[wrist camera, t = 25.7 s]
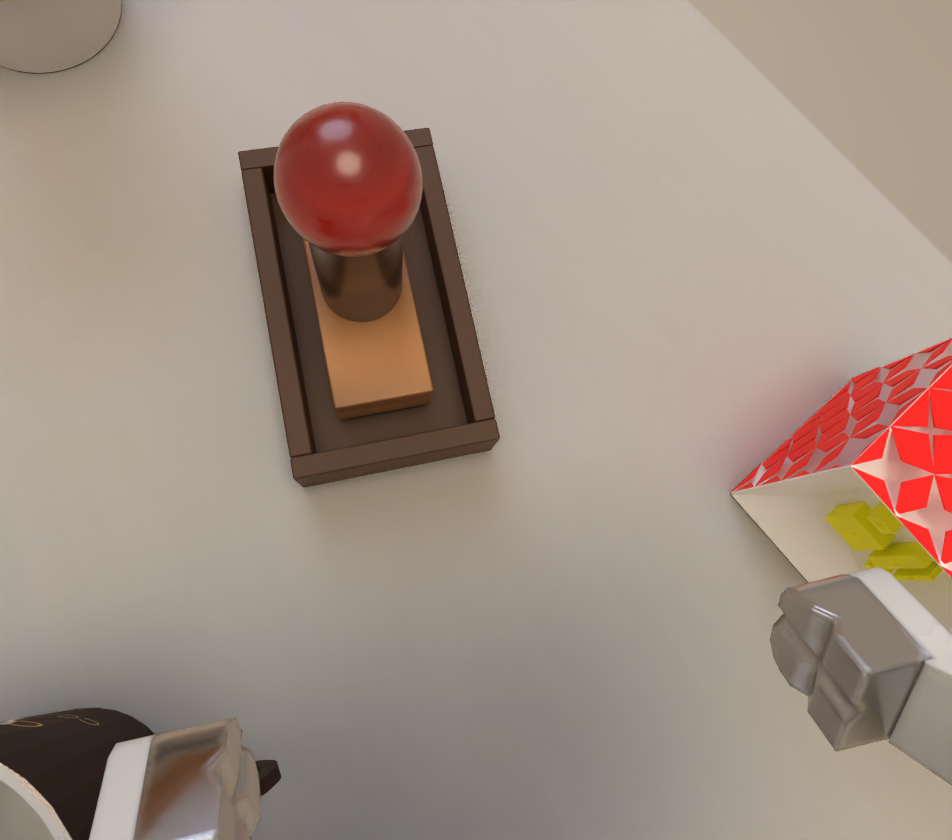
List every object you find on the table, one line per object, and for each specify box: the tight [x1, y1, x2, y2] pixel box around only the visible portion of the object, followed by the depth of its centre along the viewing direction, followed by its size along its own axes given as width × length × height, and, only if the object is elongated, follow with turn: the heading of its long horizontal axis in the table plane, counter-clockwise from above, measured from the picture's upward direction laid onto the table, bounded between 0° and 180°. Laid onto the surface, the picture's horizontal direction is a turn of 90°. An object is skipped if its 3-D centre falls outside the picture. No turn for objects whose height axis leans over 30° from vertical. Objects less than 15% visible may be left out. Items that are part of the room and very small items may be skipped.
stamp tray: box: [238, 128, 500, 487], centre depth 28 cm, size 13×8×2 cm, turn 12°
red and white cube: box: [730, 337, 952, 635], centre depth 26 cm, size 8×8×8 cm
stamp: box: [274, 102, 433, 420], centre depth 23 cm, size 9×4×12 cm, turn 12°
